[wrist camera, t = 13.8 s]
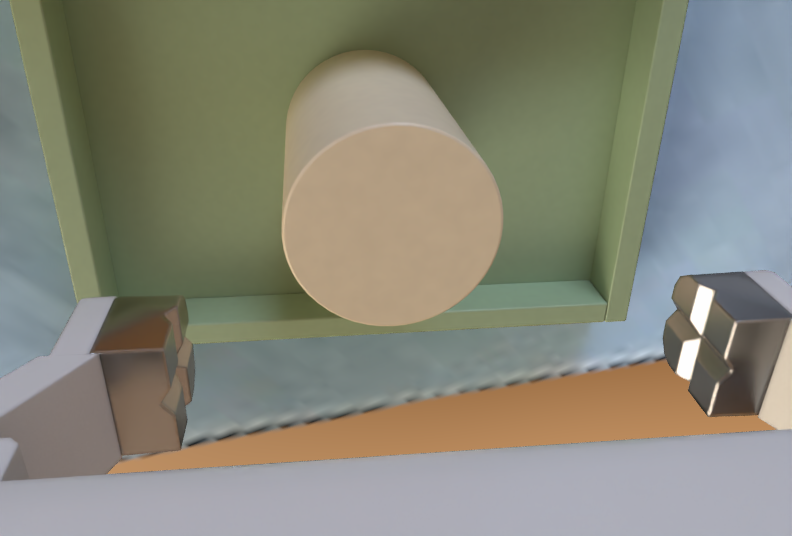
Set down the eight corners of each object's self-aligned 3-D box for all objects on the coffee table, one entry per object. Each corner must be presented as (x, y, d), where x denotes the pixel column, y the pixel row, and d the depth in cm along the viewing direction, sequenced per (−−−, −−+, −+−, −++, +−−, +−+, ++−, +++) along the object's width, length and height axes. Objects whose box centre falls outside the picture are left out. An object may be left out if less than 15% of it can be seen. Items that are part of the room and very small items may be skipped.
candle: (444, 48, 22) (514, 120, 15) (437, 198, 24) (495, 322, 17) (281, 49, 21) (273, 125, 14) (290, 203, 24) (287, 333, 17)
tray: (669, -107, 21) (710, -107, 19) (600, 289, 27) (626, 321, 25) (16, -120, 19) (-20, -122, 17) (104, 312, 25) (86, 350, 23)
